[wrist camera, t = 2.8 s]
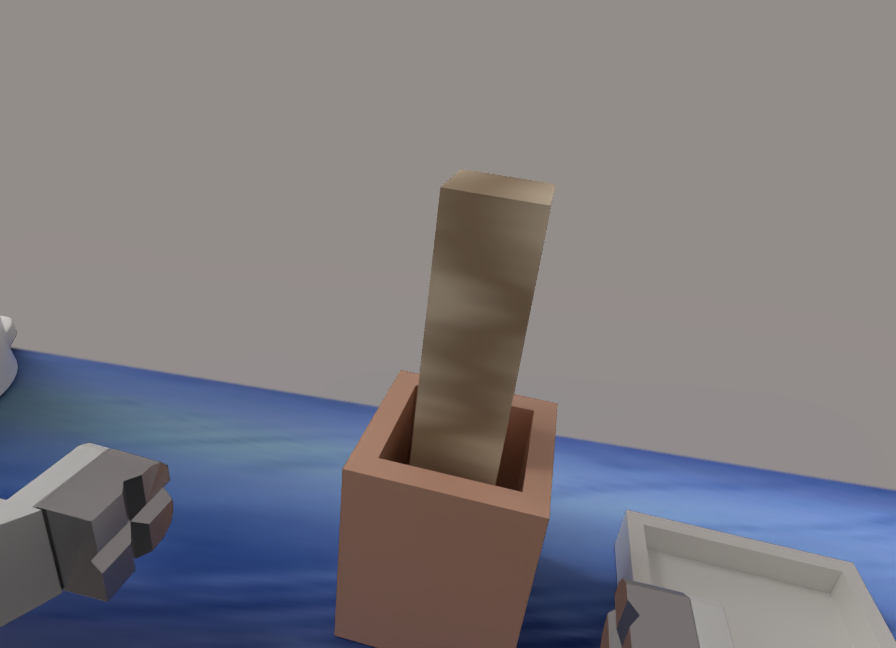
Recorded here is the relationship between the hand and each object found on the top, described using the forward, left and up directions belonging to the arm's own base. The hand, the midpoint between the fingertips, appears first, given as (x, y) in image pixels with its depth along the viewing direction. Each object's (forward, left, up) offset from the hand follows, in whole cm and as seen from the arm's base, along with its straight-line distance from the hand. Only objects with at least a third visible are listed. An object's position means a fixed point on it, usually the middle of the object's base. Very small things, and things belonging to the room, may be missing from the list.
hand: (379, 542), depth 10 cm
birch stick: (0, +12, -14) cm, 18 cm away
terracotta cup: (0, +12, -15) cm, 19 cm away
